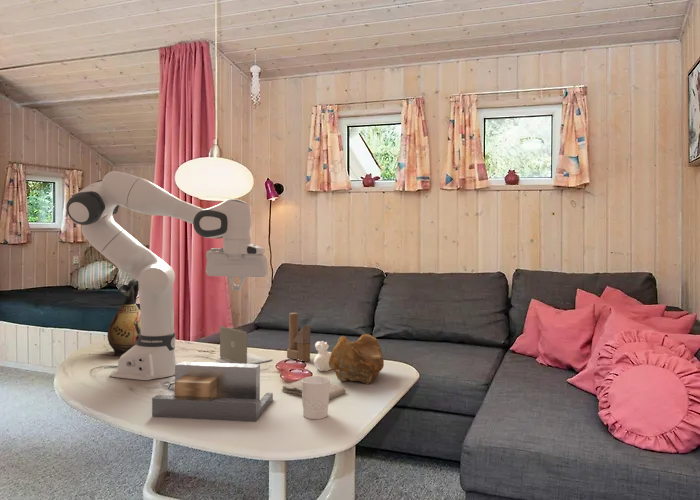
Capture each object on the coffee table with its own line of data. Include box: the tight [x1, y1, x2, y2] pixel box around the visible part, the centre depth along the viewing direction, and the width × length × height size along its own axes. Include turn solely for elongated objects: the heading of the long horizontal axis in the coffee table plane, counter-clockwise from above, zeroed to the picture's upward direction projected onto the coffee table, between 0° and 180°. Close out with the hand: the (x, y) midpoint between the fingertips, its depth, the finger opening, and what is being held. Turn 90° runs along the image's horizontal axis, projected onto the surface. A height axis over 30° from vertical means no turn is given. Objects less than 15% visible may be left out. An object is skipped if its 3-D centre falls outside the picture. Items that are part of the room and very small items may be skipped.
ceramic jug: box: [106, 278, 141, 357], centre depth 223 cm, size 17×15×30 cm
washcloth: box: [281, 378, 347, 401], centre depth 174 cm, size 12×18×3 cm, turn 57°
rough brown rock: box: [329, 333, 385, 385], centre depth 189 cm, size 23×17×15 cm
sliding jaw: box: [174, 361, 261, 401], centre depth 159 cm, size 24×4×12 cm, turn 84°
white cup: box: [301, 375, 331, 420], centre depth 152 cm, size 8×8×10 cm
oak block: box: [174, 376, 217, 398], centre depth 155 cm, size 10×6×9 cm, turn 84°
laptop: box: [219, 325, 273, 364], centre depth 216 cm, size 18×12×13 cm
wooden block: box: [286, 312, 311, 363], centre depth 216 cm, size 4×11×18 cm, turn 42°
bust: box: [312, 340, 333, 372], centre depth 203 cm, size 12×8×11 cm
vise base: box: [151, 392, 274, 422], centre depth 158 cm, size 29×19×5 cm, turn 84°
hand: (236, 290), depth 181 cm, fingers closed
